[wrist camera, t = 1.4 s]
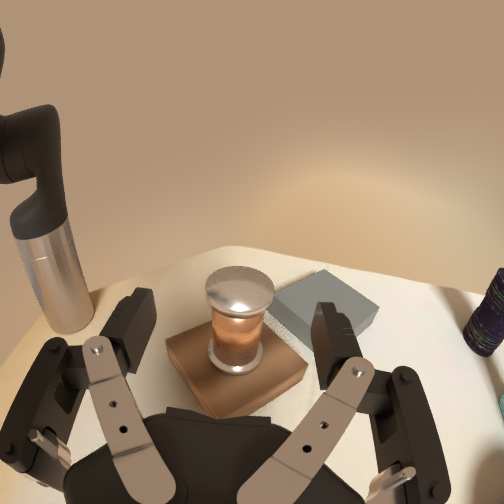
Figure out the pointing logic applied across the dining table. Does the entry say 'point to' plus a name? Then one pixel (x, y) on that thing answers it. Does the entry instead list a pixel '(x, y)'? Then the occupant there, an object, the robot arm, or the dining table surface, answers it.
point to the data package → (502, 404)
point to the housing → (237, 318)
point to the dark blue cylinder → (487, 320)
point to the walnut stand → (234, 387)
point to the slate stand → (320, 290)
